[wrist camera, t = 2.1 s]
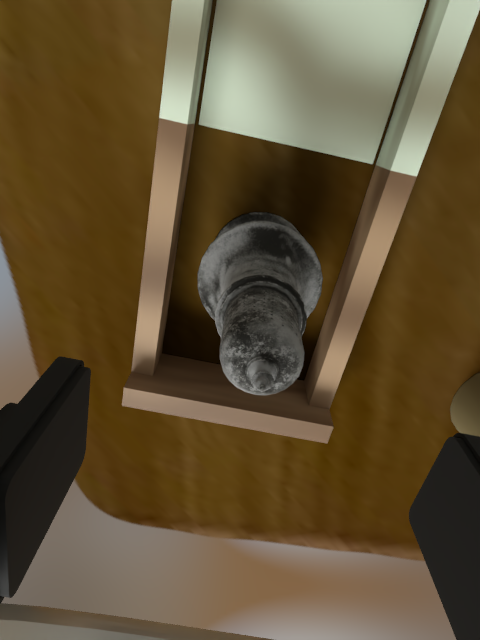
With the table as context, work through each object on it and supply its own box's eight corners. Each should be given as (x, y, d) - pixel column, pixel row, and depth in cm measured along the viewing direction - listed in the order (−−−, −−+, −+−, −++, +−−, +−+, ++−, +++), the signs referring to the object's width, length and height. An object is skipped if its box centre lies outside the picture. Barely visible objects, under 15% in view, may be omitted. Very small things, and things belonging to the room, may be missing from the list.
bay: (192, -72, 17) (175, -123, 13) (460, -3, 18) (513, -34, 14) (140, 365, 26) (122, 405, 22) (317, 399, 27) (327, 443, 23)
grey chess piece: (228, 322, 25) (208, 483, 14) (188, 228, 22) (125, 334, 11) (325, 290, 23) (386, 438, 13) (294, 189, 21) (335, 263, 10)
